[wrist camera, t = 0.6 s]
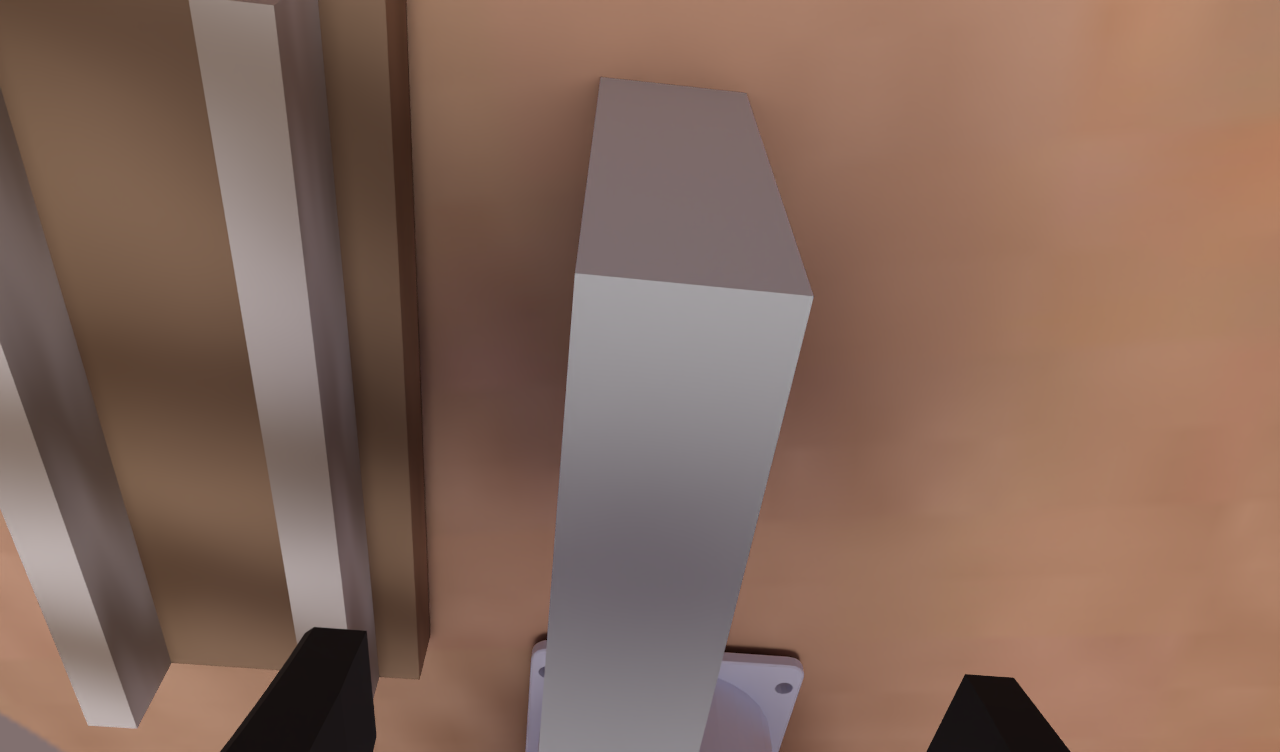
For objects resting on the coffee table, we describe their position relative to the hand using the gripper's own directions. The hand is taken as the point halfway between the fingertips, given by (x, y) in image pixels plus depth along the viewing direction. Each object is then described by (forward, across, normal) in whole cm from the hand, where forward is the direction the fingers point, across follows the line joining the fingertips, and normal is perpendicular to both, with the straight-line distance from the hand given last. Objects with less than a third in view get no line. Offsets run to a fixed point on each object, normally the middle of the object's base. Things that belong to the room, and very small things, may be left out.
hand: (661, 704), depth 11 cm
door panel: (+10, 0, 0) cm, 10 cm away
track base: (+10, +10, +3) cm, 14 cm away
